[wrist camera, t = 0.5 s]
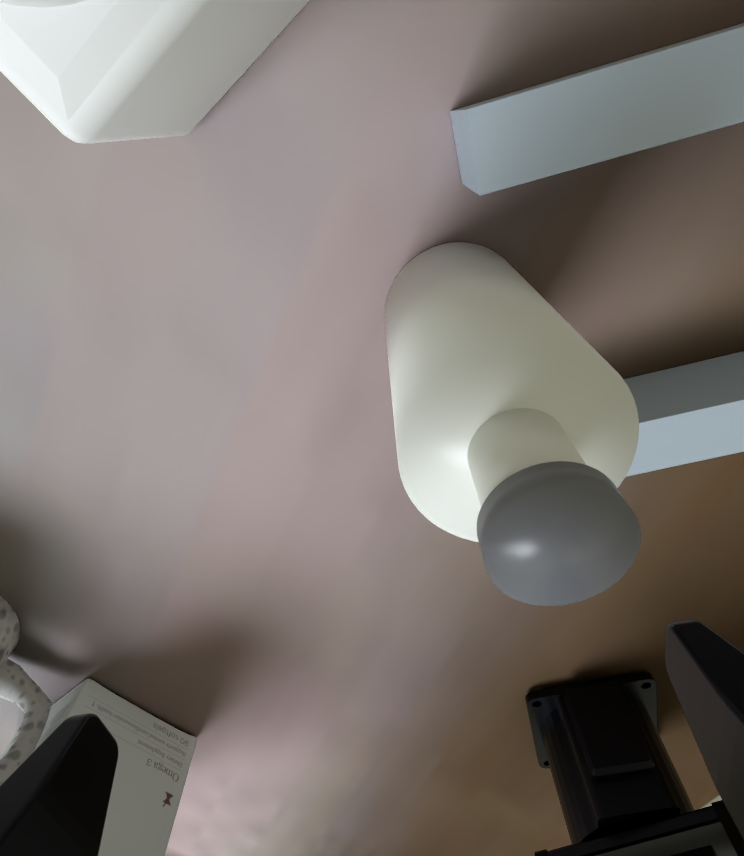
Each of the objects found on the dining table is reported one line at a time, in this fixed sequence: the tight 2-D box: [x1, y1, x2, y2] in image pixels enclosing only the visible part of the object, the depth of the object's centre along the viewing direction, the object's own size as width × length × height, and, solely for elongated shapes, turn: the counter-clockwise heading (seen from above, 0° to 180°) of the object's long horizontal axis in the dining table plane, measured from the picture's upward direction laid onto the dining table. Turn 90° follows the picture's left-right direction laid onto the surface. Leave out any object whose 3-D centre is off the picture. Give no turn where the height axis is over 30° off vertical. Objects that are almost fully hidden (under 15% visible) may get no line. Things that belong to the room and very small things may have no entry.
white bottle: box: [384, 242, 641, 606], centre depth 14 cm, size 5×5×12 cm
